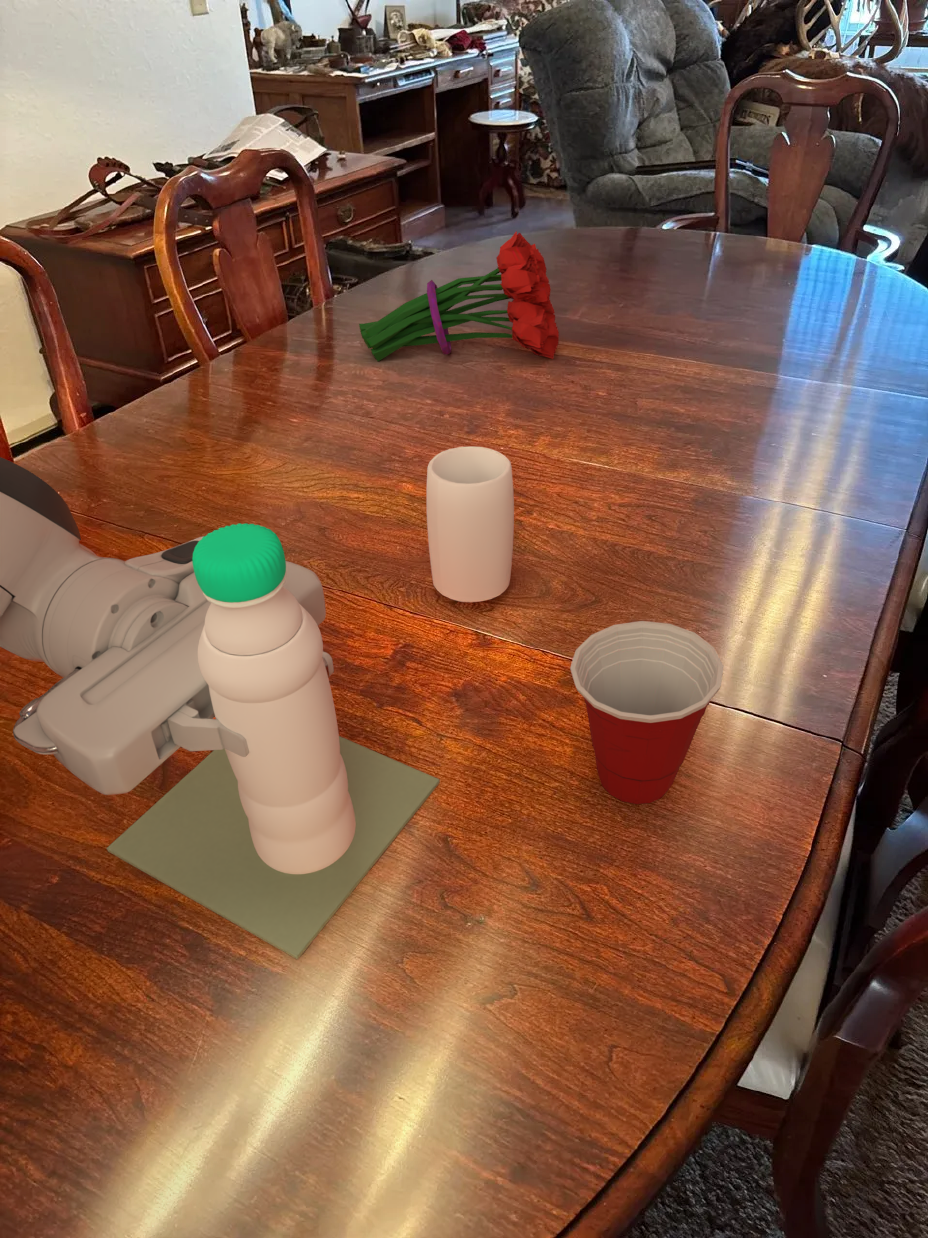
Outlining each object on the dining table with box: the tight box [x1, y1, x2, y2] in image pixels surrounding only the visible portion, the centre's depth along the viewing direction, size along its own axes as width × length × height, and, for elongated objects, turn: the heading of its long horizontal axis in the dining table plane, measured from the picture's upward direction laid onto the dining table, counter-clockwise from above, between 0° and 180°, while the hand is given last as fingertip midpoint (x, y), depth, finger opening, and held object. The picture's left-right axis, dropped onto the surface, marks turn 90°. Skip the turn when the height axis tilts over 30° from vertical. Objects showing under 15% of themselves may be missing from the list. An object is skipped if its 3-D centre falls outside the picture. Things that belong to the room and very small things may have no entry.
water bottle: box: [192, 522, 356, 874], centre depth 56 cm, size 7×7×25 cm
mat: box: [106, 735, 441, 960], centre depth 71 cm, size 18×18×1 cm
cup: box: [425, 445, 515, 603], centre depth 90 cm, size 8×8×14 cm
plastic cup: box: [569, 620, 724, 805], centre depth 70 cm, size 11×11×12 cm
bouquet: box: [358, 230, 560, 362], centre depth 139 cm, size 20×16×30 cm
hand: (292, 704), depth 56 cm, fingers closed on water bottle, 5 cm apart
